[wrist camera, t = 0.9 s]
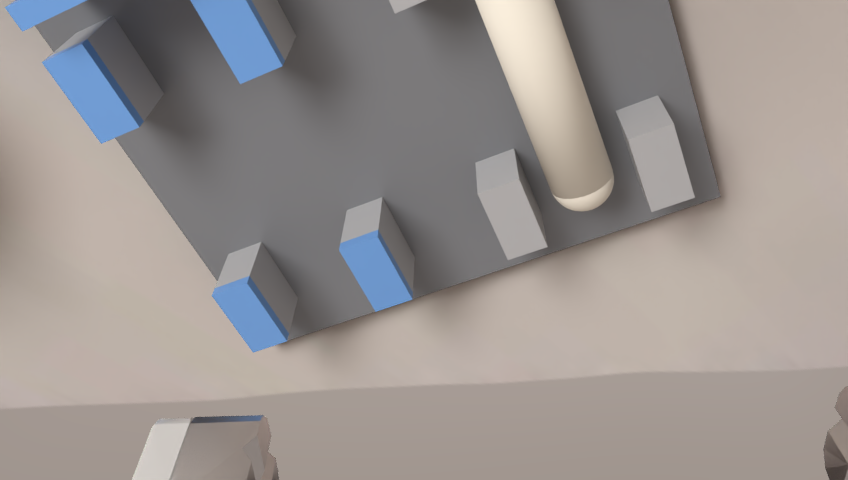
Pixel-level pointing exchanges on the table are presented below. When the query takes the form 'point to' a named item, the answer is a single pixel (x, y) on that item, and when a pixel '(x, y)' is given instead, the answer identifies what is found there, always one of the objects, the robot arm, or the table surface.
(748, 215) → the table surface
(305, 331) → the grey peg board
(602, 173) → the white capsule
